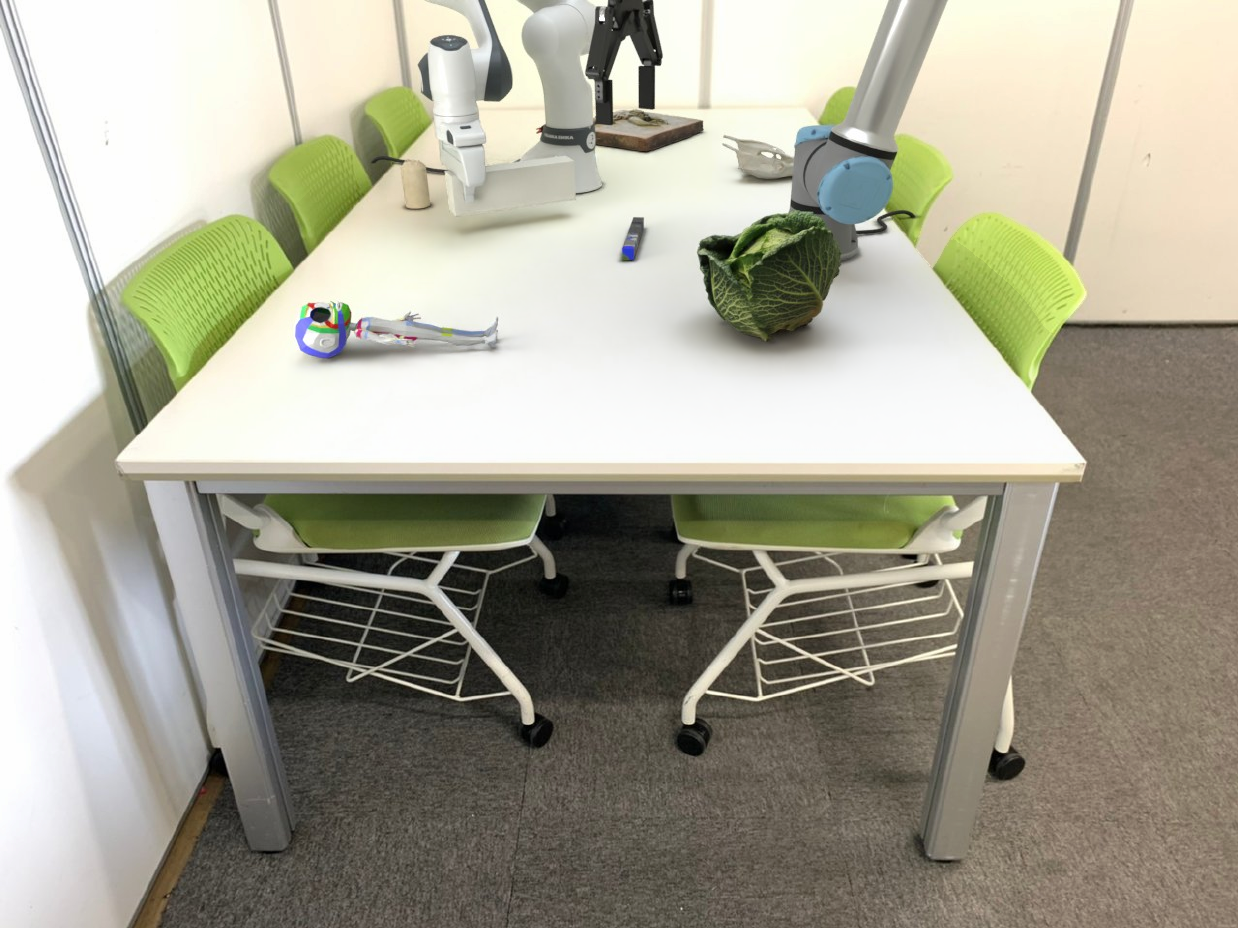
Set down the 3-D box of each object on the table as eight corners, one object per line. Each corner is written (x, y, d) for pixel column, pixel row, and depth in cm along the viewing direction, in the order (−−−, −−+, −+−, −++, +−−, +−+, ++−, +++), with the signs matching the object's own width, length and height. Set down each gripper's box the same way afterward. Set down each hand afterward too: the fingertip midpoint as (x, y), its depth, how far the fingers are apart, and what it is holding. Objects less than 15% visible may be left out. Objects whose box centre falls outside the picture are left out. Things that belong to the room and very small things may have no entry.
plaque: (647, 125, 237) (559, 112, 252) (647, 153, 241) (560, 139, 256) (706, 107, 258) (622, 97, 273) (705, 133, 262) (622, 121, 277)
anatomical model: (724, 131, 223) (826, 130, 219) (723, 169, 228) (823, 168, 224) (720, 146, 210) (828, 145, 207) (720, 185, 215) (825, 185, 212)
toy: (498, 328, 132) (286, 311, 128) (494, 379, 137) (289, 364, 132) (499, 302, 141) (300, 285, 136) (495, 351, 145) (303, 336, 140)
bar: (455, 217, 182) (451, 176, 178) (449, 210, 186) (444, 170, 182) (575, 199, 192) (574, 160, 187) (567, 194, 195) (565, 155, 191)
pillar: (643, 217, 185) (633, 249, 169) (643, 227, 186) (633, 260, 170) (633, 217, 186) (621, 249, 169) (633, 227, 187) (622, 260, 170)
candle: (435, 203, 204) (429, 158, 199) (422, 209, 200) (416, 164, 194) (413, 201, 206) (407, 156, 200) (401, 207, 201) (394, 162, 196)
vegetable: (729, 354, 150) (671, 251, 142) (822, 290, 151) (770, 184, 144) (780, 378, 132) (718, 261, 124) (885, 305, 133) (830, 185, 125)
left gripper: (428, 119, 183) (436, 187, 191) (456, 140, 167) (464, 213, 175) (458, 116, 185) (464, 184, 193) (488, 136, 170) (494, 209, 177)
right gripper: (602, -27, 123) (606, 134, 134) (685, -38, 141) (682, 104, 152) (557, -29, 126) (564, 129, 138) (643, -39, 144) (643, 101, 156)
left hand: (464, 198), depth 184 cm, fingers closed on bar, 5 cm apart
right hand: (626, 116), depth 145 cm, fingers open, 13 cm apart
